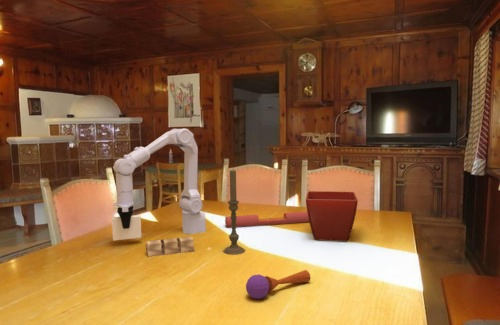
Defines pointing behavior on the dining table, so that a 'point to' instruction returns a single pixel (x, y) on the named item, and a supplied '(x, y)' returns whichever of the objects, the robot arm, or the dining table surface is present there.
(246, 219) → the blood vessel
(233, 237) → the candlestick holder
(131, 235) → the cream rectangular block
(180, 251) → the rack
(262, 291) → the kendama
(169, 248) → the block
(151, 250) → the offcut
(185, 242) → the offcut
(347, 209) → the plant pot
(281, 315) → the dining table surface
